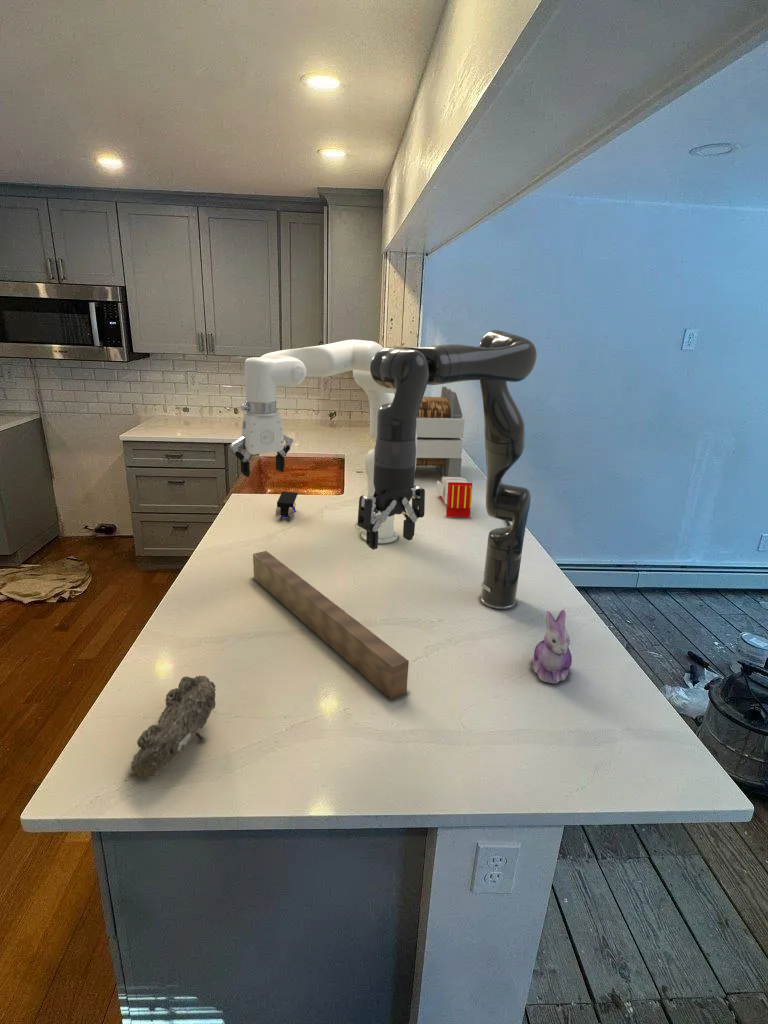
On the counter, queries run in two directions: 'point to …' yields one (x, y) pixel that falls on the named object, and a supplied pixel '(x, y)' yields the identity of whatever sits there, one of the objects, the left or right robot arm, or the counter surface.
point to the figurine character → (286, 505)
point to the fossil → (175, 725)
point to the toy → (456, 496)
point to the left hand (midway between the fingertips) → (263, 473)
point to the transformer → (440, 433)
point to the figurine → (553, 651)
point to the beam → (334, 626)
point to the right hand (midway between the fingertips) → (390, 543)
